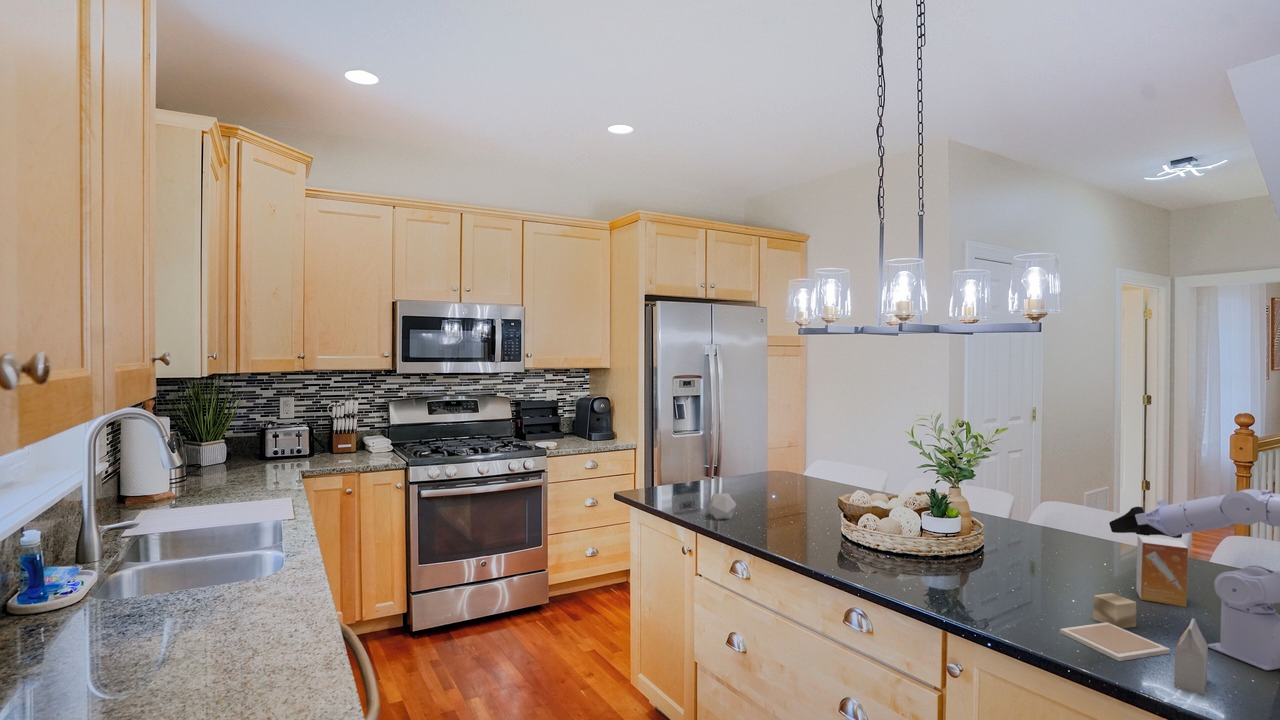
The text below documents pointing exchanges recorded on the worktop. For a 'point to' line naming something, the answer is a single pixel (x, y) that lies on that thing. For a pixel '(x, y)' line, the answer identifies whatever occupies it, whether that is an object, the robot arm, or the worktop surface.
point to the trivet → (1114, 641)
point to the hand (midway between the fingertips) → (1123, 528)
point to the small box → (1162, 570)
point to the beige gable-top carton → (1191, 660)
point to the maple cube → (1114, 610)
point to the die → (722, 506)
